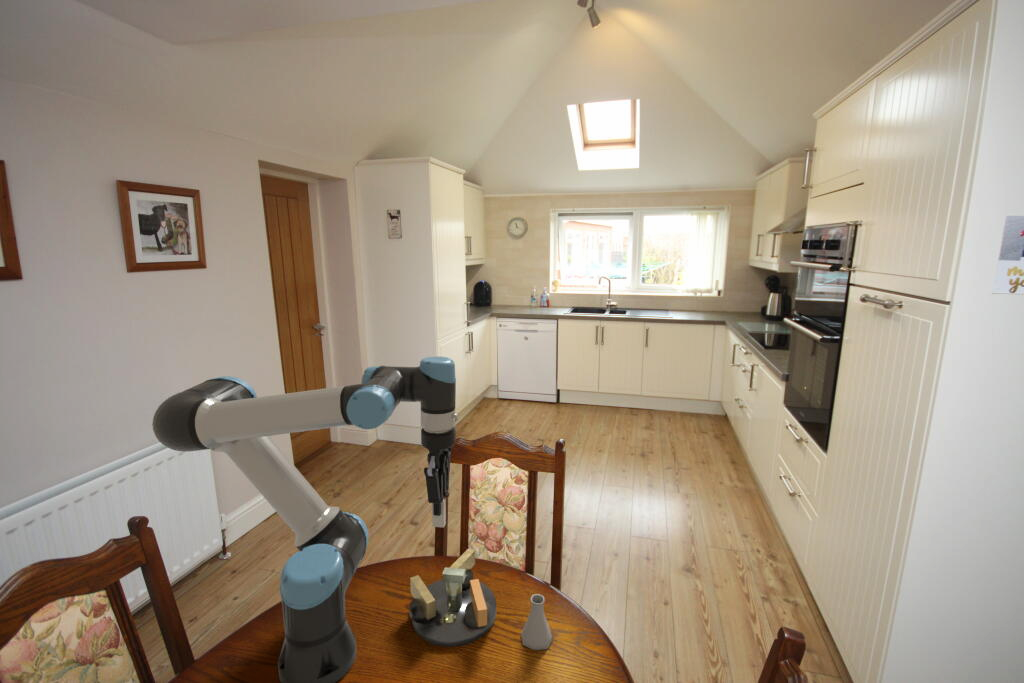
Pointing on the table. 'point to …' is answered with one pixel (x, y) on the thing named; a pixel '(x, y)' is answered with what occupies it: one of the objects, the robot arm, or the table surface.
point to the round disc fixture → (448, 605)
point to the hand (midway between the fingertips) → (439, 525)
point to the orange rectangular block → (477, 608)
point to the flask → (536, 626)
